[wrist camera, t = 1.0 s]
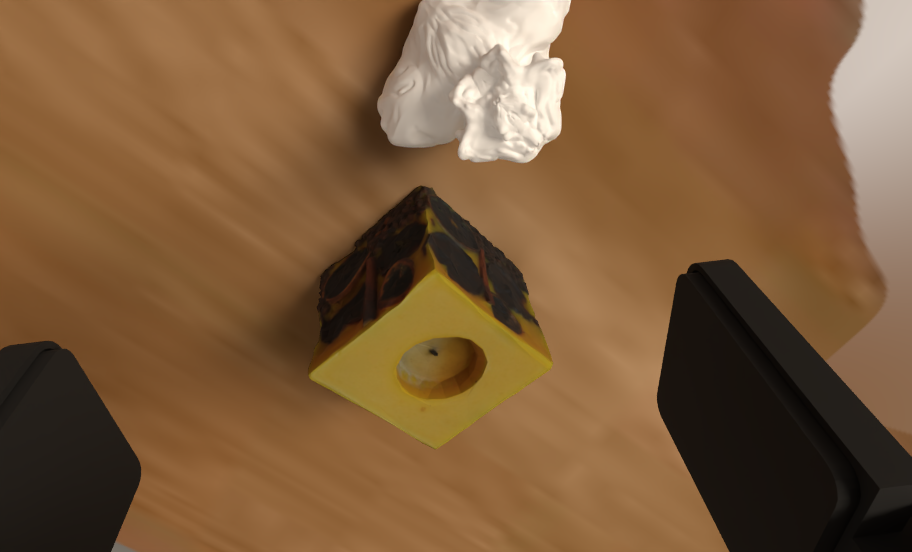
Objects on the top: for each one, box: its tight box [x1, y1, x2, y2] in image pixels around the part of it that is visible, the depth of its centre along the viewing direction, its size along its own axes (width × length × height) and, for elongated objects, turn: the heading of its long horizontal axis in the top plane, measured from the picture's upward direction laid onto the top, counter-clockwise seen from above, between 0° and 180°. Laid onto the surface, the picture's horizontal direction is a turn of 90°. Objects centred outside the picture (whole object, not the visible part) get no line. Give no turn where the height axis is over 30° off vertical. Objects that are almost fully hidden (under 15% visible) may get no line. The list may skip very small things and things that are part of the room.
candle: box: [308, 186, 553, 449], centre depth 36 cm, size 10×10×10 cm
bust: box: [377, 0, 571, 163], centre depth 28 cm, size 12×8×11 cm
